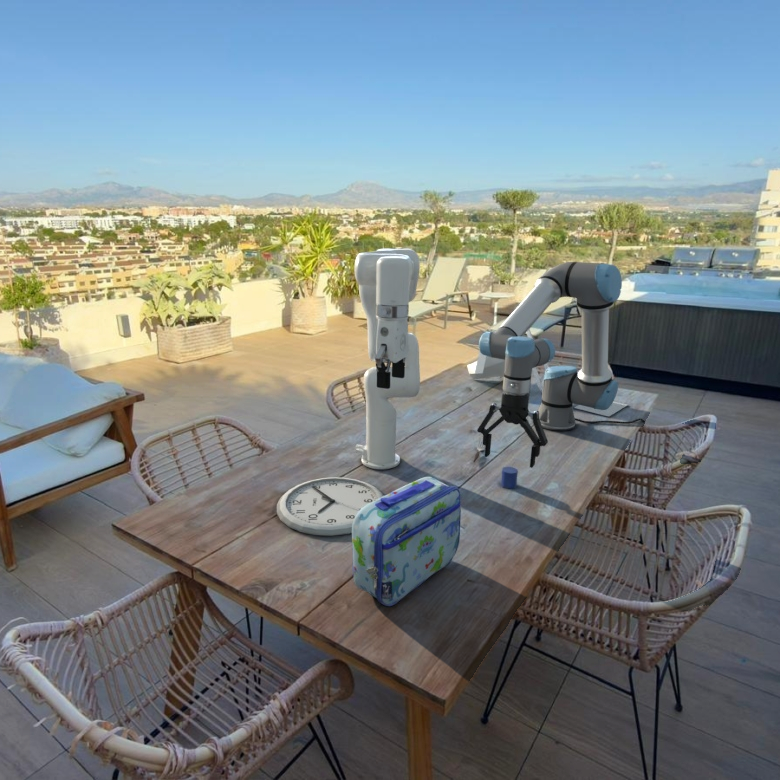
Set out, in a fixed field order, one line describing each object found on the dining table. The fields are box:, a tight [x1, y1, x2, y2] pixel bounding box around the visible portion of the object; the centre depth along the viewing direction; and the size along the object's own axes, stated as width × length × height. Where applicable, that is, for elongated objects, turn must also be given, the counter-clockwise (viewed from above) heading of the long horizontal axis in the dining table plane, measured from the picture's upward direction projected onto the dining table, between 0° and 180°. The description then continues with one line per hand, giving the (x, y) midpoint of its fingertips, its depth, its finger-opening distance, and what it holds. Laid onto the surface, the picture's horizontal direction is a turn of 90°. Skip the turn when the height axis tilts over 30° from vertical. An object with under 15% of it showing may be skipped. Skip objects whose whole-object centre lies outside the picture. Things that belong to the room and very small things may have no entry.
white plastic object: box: [466, 328, 550, 392], centre depth 255 cm, size 37×45×31 cm
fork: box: [473, 440, 485, 463], centre depth 176 cm, size 3×16×2 cm, turn 160°
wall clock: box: [276, 476, 385, 537], centre depth 142 cm, size 30×2×30 cm
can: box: [500, 466, 519, 489], centre depth 155 cm, size 4×4×5 cm
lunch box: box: [351, 476, 462, 607], centre depth 111 cm, size 26×11×21 cm, turn 135°
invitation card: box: [573, 400, 629, 418], centre depth 226 cm, size 21×1×15 cm
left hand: (391, 382), depth 126 cm, fingers open, 9 cm apart
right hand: (509, 460), depth 154 cm, fingers open, 13 cm apart
